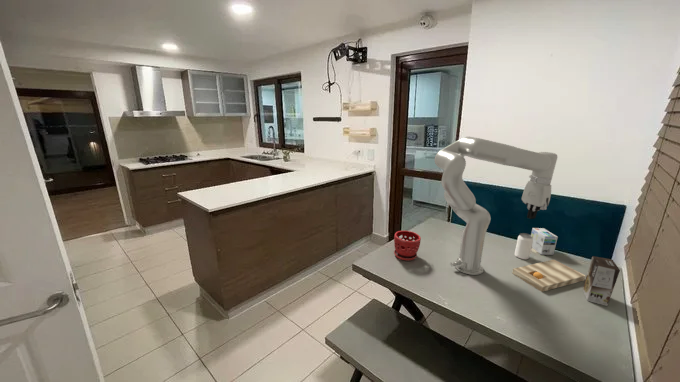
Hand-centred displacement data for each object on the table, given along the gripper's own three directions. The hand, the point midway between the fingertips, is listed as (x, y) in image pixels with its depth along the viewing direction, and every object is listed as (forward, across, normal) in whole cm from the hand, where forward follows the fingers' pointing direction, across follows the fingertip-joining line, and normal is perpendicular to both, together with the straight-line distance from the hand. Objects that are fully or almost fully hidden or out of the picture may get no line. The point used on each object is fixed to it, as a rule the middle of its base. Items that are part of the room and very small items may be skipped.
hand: (530, 218), depth 125 cm
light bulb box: (+24, -8, +24) cm, 35 cm away
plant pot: (+27, -22, -50) cm, 61 cm away
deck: (+25, +12, +4) cm, 27 cm away
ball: (+23, +12, -3) cm, 26 cm away
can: (+25, -6, +8) cm, 27 cm away
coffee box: (+24, +27, +8) cm, 38 cm away
